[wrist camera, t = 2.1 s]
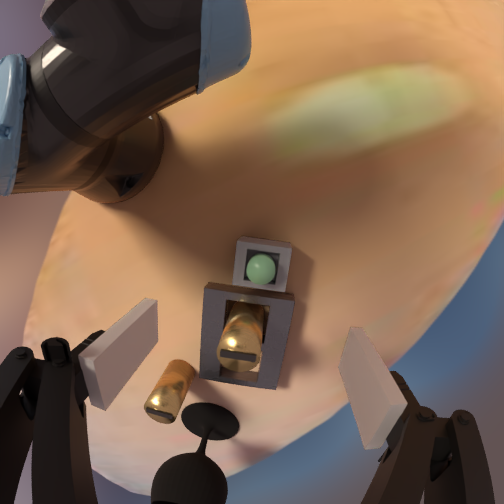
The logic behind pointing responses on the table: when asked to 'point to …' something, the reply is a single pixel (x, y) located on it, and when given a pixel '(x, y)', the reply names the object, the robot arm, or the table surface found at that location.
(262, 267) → the button
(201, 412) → the wine glass
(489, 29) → the table surface
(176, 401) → the loose billet
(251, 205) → the table surface
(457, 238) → the table surface
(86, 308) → the table surface
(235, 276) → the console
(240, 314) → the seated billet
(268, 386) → the grey flat frame
